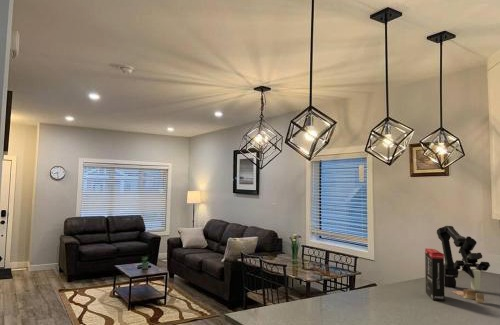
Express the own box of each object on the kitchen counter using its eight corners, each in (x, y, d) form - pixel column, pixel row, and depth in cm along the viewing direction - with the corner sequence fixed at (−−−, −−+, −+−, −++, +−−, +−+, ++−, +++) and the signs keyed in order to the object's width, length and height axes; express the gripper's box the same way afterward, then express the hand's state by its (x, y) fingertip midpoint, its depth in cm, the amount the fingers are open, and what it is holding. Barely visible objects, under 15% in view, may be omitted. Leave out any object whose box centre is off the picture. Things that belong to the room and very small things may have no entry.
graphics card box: (445, 301, 208) (445, 253, 210) (432, 300, 209) (432, 252, 212) (436, 294, 225) (436, 248, 227) (424, 292, 226) (424, 248, 228)
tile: (451, 291, 233) (451, 290, 233) (466, 292, 232) (466, 291, 232) (458, 295, 224) (458, 294, 224) (474, 296, 223) (474, 295, 223)
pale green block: (470, 287, 216) (470, 268, 216) (477, 288, 215) (476, 269, 216) (474, 289, 212) (474, 270, 212) (480, 290, 211) (480, 270, 212)
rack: (461, 296, 221) (461, 287, 222) (475, 297, 221) (475, 288, 221) (473, 302, 208) (473, 293, 209) (488, 303, 208) (487, 294, 208)
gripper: (455, 246, 220) (465, 269, 208) (488, 248, 218) (499, 271, 207) (449, 257, 227) (458, 280, 215) (480, 259, 226) (491, 281, 214)
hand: (477, 278), depth 213 cm, fingers closed on pale green block, 3 cm apart
